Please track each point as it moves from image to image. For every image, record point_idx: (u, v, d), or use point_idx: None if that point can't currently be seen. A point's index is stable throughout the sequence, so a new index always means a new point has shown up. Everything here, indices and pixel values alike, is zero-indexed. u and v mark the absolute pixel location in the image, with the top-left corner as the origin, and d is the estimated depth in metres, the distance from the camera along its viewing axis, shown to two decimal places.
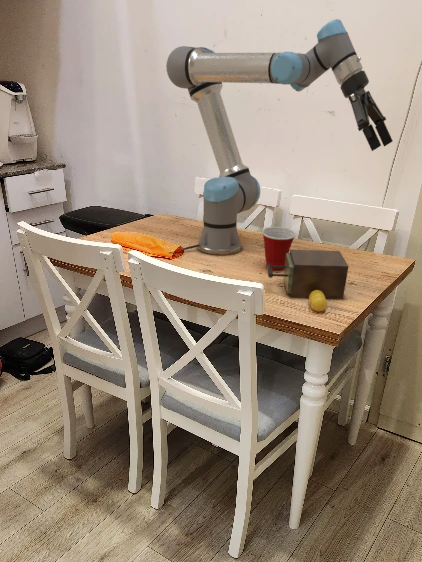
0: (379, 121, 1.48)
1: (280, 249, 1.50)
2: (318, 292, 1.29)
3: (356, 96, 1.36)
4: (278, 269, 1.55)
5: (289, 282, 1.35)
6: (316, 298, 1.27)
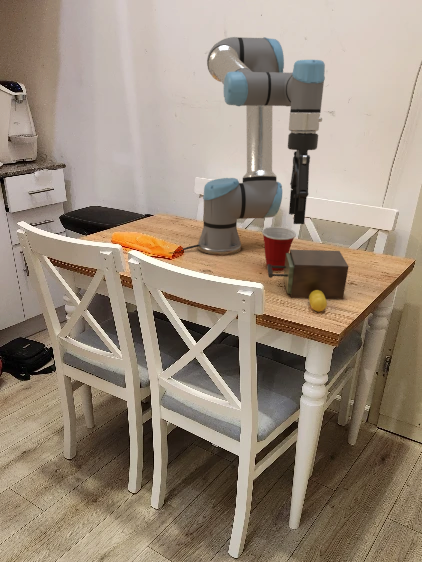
0: (296, 187, 1.36)
1: (280, 249, 1.50)
2: (318, 292, 1.29)
3: (308, 161, 1.20)
4: (278, 269, 1.55)
5: (289, 282, 1.35)
6: (316, 298, 1.27)
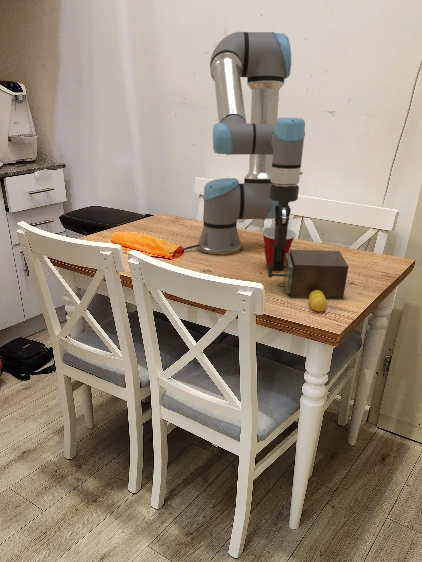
0: None
1: None
2: (318, 292, 1.29)
3: (287, 222, 1.27)
4: None
5: (289, 282, 1.35)
6: (316, 298, 1.27)
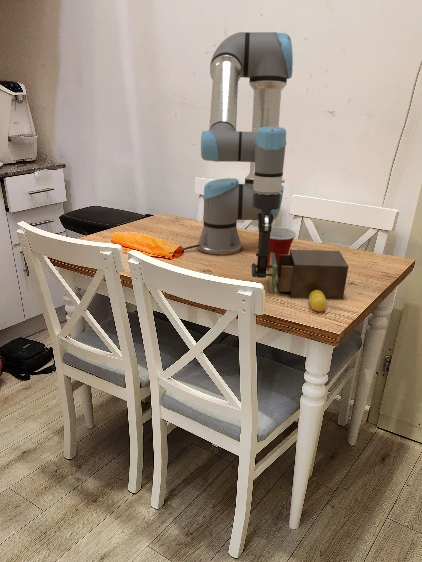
0: None
1: (280, 249, 1.50)
2: (318, 292, 1.29)
3: (269, 230, 1.28)
4: None
5: (273, 281, 1.35)
6: (316, 298, 1.27)
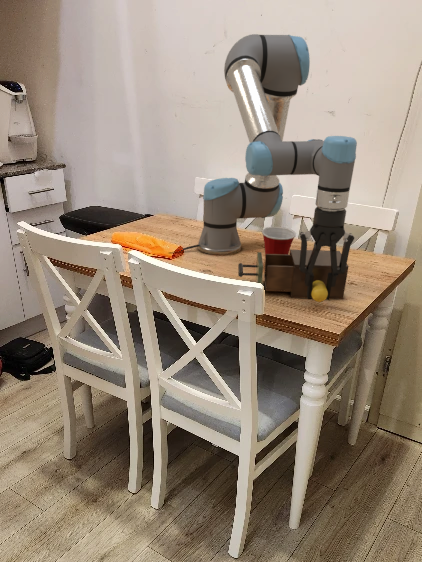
0: (332, 271, 1.25)
1: (280, 249, 1.50)
2: (319, 282, 1.28)
3: None
4: None
5: (259, 281, 1.35)
6: (317, 288, 1.26)
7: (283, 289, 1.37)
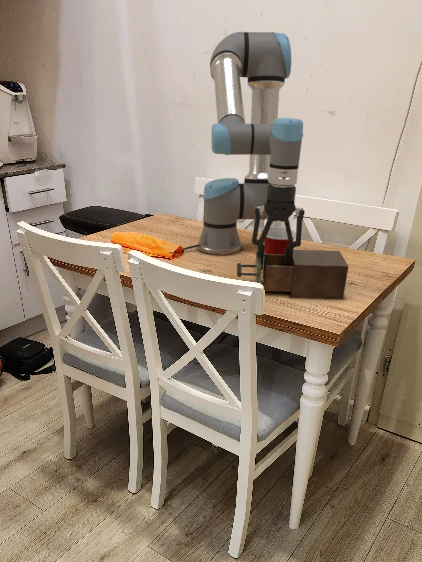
0: None
1: (280, 249, 1.50)
2: None
3: (255, 213, 1.31)
4: None
5: (257, 281, 1.35)
6: None
7: (281, 289, 1.37)
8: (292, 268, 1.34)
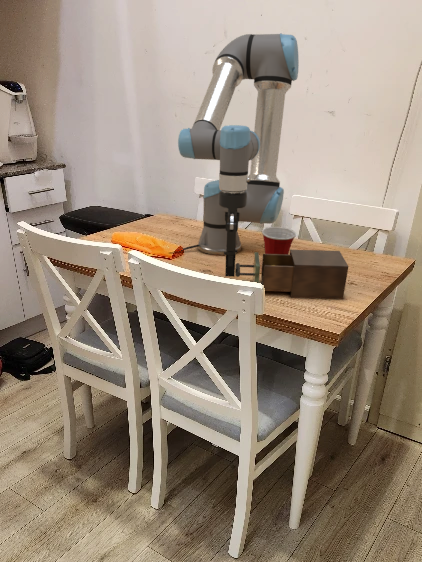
0: None
1: (280, 249, 1.50)
2: None
3: (234, 228, 1.28)
4: None
5: (256, 281, 1.35)
6: None
7: (280, 289, 1.37)
8: (290, 268, 1.34)
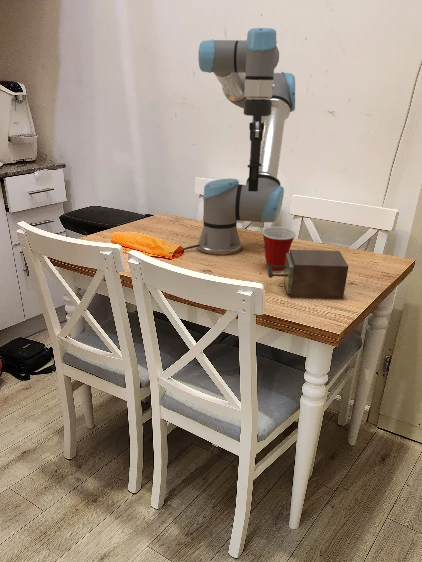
0: None
1: (280, 249, 1.50)
2: None
3: (260, 136, 1.30)
4: (278, 269, 1.55)
5: (289, 282, 1.35)
6: None
7: None
8: None
